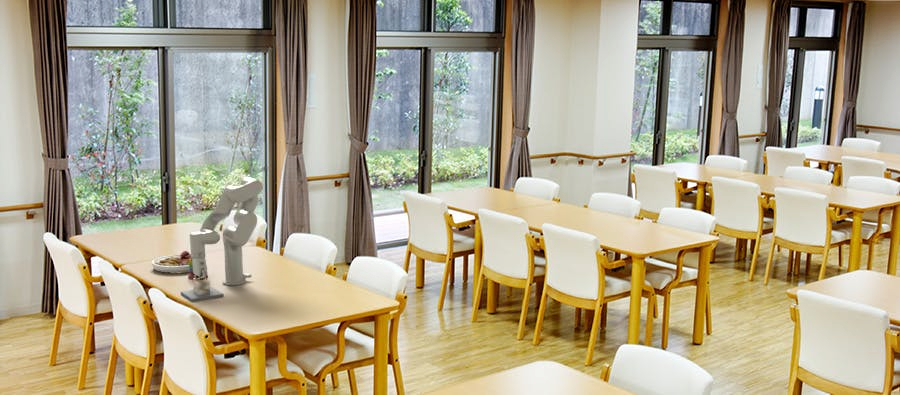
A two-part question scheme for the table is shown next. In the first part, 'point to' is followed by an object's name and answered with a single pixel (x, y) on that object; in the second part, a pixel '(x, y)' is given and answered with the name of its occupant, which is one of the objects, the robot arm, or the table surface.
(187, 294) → the base board
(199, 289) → the cream block
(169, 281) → the table surface
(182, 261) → the bowl
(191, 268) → the stacking bear
